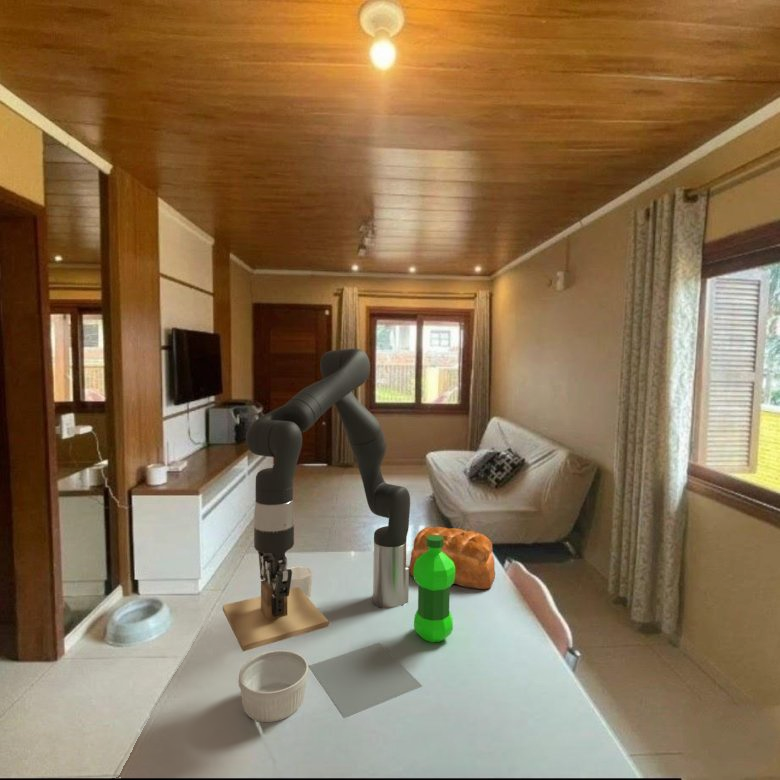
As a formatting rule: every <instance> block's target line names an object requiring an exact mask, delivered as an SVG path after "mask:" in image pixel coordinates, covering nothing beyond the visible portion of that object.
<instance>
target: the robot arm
mask: <svg viewBox="0 0 780 780" xmlns="http://www.w3.org/2000/svg"><path fill="white" fill-rule="evenodd" d="M319 362H320V363H319V365H320V366H319V367H320V374H321V377H322V379H320V380H319V381H316V382H313V383H311V384H309V385H307V386H306V387H304V388H303V389H301V390H300V391H298V392H297V393H296V394H295V395H293V397H292V398H291V399H289V400H288V401H287V402H286V403H285V404H283V405H282V406H280V407H277V408H275V409H273V410H271V411H269V412H267V413H265V414H264V415H262V416H260V417H258V418H257V419H255V421H253V422H252V424H251V425H250V426H249V428H248V430H247V433H246V436H245V443H246V446H247V448H248V450H249V452H251V453H252V454H254V455H256V456H260V457H261V456H262V457H271V458H274V459H275V460H274V463H273V466H272V467H267V468H263V469H260V470H259V471H258V472H257V473H256V476H255V503H254V510H253V511H254V512H253V525H254V526H253V536H254V537H253V547H254V549H255V551H257V554H258V562H259V575H260V577H259V578H260V580H261V581H264V580H268V584H269V585H271V596H272V615H273V616H274V617H276V616H280V615H283V614H284V597H286V596H289V591H290V584H291V577H292V570H291V569H289V568H287V567H288V558H287V556H286V553H287V552H288V551H289V550H290V549H292V548H293V546H294V545H295V508H294V477H295V476H294V475H295V472H296V468H297V465H298V460H299V457H300V453H301V451H302V447H303V435H302V433H304V432H307V431H308V430H310V428H312V426H313V425H314V424H316V422H318V420H319V419H320V418H321V416H323V415H324V414H325V413H326V412H327V411H328V410H329V409H330V408H331V407H333V406H335V408H336V410H337V413H338V415H339V417H340V420H341V423H342V426H343V428H344V431H345V433H346V434H345V435H346V437H347V440H348V444H349V447H350V449H351V452H352V454H353V457H354V459H355V461H356V464H357V468H358V471H359V473H360V474H359V475H360V477H361V480H362V485H363V488H364V494H365V498H366V502H367V505H368V508H369V510H370V511H371V513H373V515H376V516H378V517H382V518H386V519H388V524H387V526H380V527H379V528H377V529H376V530H375V531H374V532H373V565H372V566H373V568H372V569H373V573H372V574H373V575H372V576H373V577H372V578H373V581H372V585H373V586H372V588H373V589H372V596H373V597H372V602H373V603H374V605H375V606H377V607H378V608H379V607H380V608H382V609H383V608H390V609H391V608H398V607H400V606H403V605H404V604H405V603H406V602H407V603H408V602H409V587H410V585H409V583H410V576H409V575H410V573H409V567H408V566H407V536H408V532H409V528H410V527H409V526H410V512H411V496H410V492H409V490H408V488H406V487H404V486H400V485H395V484H389V483H387V482H386V481H385V480H384V477H383V474H382V471H381V470H382V469H381V466H382V463H383V461H384V458H385V456H386V455H385V454H386V452H387V451H386V450H387V442H386V439H385V436H384V432H383V429H382V426H381V423H380V422H379V420H378V419H377V418H376V417H375V416H374V415H373V414H372V413H371V411H370V410H368V409H367V408H366V407H365V406H364V404H362V403H361V402H360V401H359V400H358V399H357V397H356V396H355V395H354V393H353V391H354V390H356V389H358V388H359V387H361V386H362V385H364V384H365V383H366V381H367V380H368V379H369V377H370V372H371V362H370V359H369V356H368V355H367V353H366V352H365V351H364V350H362V349H360V348H344V349H336V350H329V351H326V352H325V353H323V354H322V355H321V358H320V361H319ZM273 578H276V580H272V579H273ZM280 589H281V590H280Z"/></svg>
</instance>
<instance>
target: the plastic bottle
mask: <svg viewBox="0 0 780 780" xmlns="http://www.w3.org/2000/svg"><path fill="white" fill-rule="evenodd" d="M426 546H428V547H429V548H428V551H427V552H425V553H424V554H422V555H421V556H420V557H419V558H418V559H416V562H415V564H414V573H413V575H414V577H413V580H414V582H415V583H417V585H418V588H417V589H418V590H417V591H418V592H417V593H418V594H417V597H418V598H417V610H416V612H415V614H414V617H413V618H414V620H413V628H414V631H415V632H416V634H418V636H419V637H421V638H422V639H423V640H425V641H427V642H430V643H441V642H443V641H444V640H445V639H446V638H448V637H449V636H450V635H451V634H452V632H453V626H454V625H453V616H452V613H451V611H450V590H451V589H450V588H451V586H452V585H454V584H453V583H454V580H455V565H454V562H453V561H452V560H451V559H450V558H449V557H448V556H447V555H445V554H444V553H443V552H442V551H441V547H443V537H442V536H440V535H429V536H427V541H426Z"/></svg>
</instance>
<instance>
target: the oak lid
mask: <svg viewBox="0 0 780 780" xmlns="http://www.w3.org/2000/svg"><path fill="white" fill-rule="evenodd" d="M272 580H276V578H273V579H272ZM280 590H281V589H280ZM222 612H223V614H224V616H225V618H226V620H227V621H228V624H229V626H230V629H231V630H232V632H233V634H234V637H235V638H236V641H237V643H238V645H239V647H240V648H241V651H242V652H246V651H249V650H250V651H251V650H253V649H257V648H260V647H263V646H267V645H271V644H274V643H277V642H280V641H283V640H284V641H285V640H287V639H291V638H294V637H297V636H300V635H301V636H302V635H304V634H308V633H310V632H314V631H317V630H321V629H324V628H328V627H329V622H330V621H329V620H328V619H327V618H326V616H325V615H324V614H323V613H322V612H321V611H320V609H318V607H317V606H316V605H315V604H314V603H313V602H312V600H311V598H310V599H309V598H308V597H307V596H306V595H305V594H304V593H303V592H302V590H301V589H300V588H299V587H297V588H293V589H290V591H289V596H286V597H284V614H283V615H280V616H276V617H274V616H273V615H272V596H271V585H269V584H268V580H264V581H263V580H261V581H260V596H255V597H252V598H248V599H244V600H240V601H235V602H232V603H226V604H223V605H222Z"/></svg>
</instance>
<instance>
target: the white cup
mask: <svg viewBox="0 0 780 780" xmlns="http://www.w3.org/2000/svg"><path fill="white" fill-rule="evenodd" d="M288 569H291V570H292V577H291V584H290V589H293V588H297V587H299V588H300V589H301V590H302V592H303V593H304V594H305V595H306V596H307V597H308V598H309V599H310V600H311V597H312V581H313V571H312V569H311V568H310V567H307V566H293V567H289V568H288Z"/></svg>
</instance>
